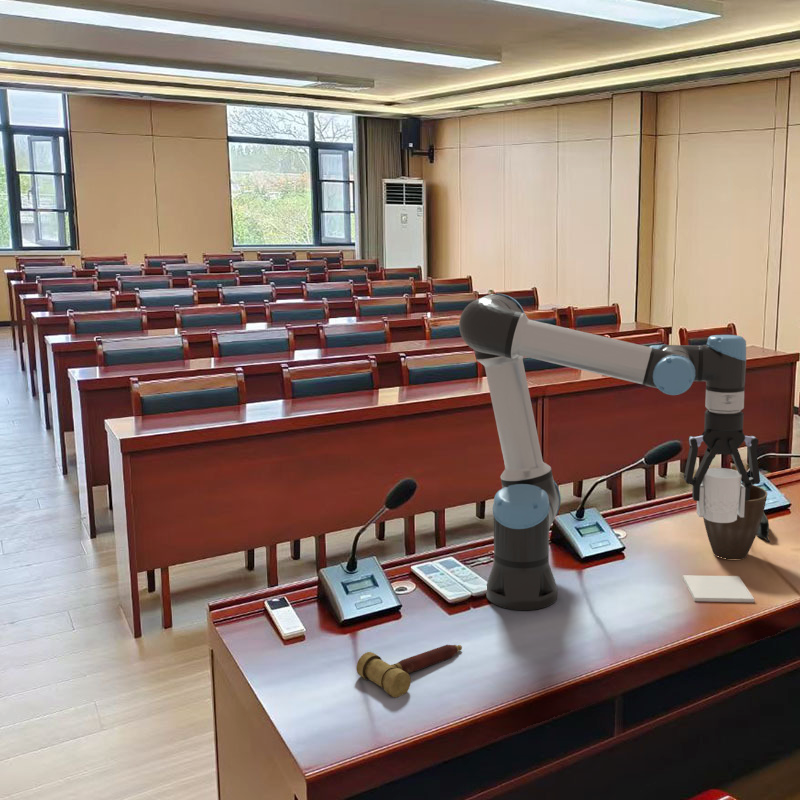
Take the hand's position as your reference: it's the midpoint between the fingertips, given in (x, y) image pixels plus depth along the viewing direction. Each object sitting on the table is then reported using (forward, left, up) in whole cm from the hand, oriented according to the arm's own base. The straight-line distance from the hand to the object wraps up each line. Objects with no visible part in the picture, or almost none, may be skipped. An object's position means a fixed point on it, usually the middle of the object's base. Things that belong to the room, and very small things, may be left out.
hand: (720, 515), depth 181 cm
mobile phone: (+20, +37, -17) cm, 46 cm away
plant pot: (+8, +21, -17) cm, 28 cm away
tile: (0, 0, -17) cm, 17 cm away
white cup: (0, 0, -1) cm, 1 cm away
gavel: (-61, -38, -18) cm, 74 cm away
